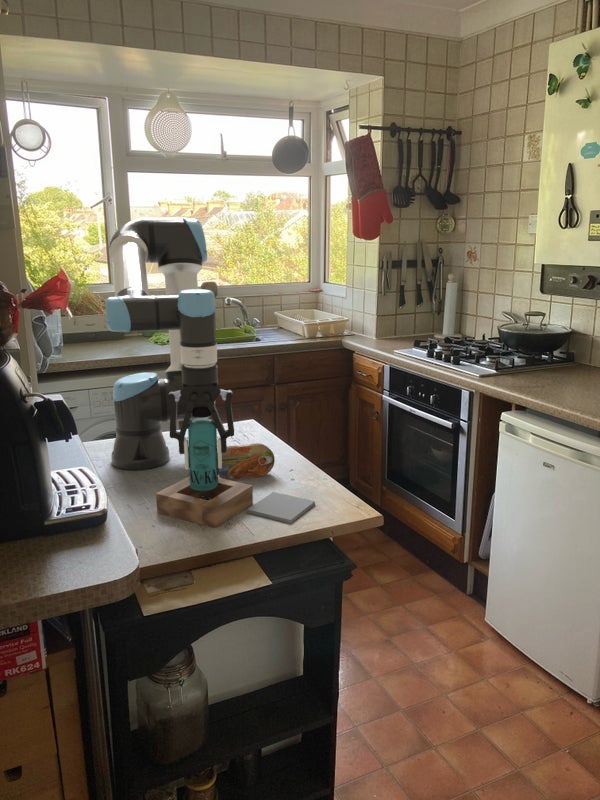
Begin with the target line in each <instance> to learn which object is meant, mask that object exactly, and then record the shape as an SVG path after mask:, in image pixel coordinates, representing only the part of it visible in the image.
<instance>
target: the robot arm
mask: <svg viewBox="0 0 600 800" xmlns="http://www.w3.org/2000/svg"><path fill="white" fill-rule="evenodd" d="M207 250H208V249H207V240H206V237H205V233H204V228H203V226H202V224H201V222H200V221H199V220H198V219H197V218H194V217H193V218H192V217H191V218H190V217H183V216H181V217H138V218H134V219H132V220H129V221H128V222H126V223H124V224H123V225H122V226H120V227H119V228H118V229H117V230H116V231H115V232H114V234H113V235H112V237H111V239H110V241H109V246H108V253H109V258H110V260H111V262H112V263H113V277H114V278H113V279H114V296H109V297H107V298H105V300H104V303H105V304H104V305H105V319H106V326H107V330H109V331H110V332H118V333H129V332H147V331H148V332H150V331H152V332H153V331H168V340H169V342H168V343H169V353H170V354H169V356H170V365H169V367H167V369H166V370H165V377H162V378H160V377H159V375H158V374H157V373H156V372H148V371H147V372H139V373H134V374H130V375H127V376H123V377H120V378H119V379H117V380H116V381H115V382H114V383H113V387H112V388H113V390H112V391H113V393H112V394H113V397H112V401H113V404H114V405H113V407H114V417H115V431H116V432H115V433H116V434H115V435H116V436H115V439H114V442H113V443H114V444H113V449H112V452H111V465H113V466H114V467H115V468H118V469H122V470H126V471H127V470H128V471H131V470H132V471H136V470H137V471H138V470H139V471H140V470H148V469H152V468H153V469H154V468H157V467H161V466H163V465H164V464H166V463H168V461H170V450H169V448H168V446H167V445H166V444H167V443H166V440H165V436H164V434H163V433H162V422H163V423H165V422H169V438H170V439H174V440H177V441H178V453H179V454H180V455H184V456H183V457H184V469H185V470H186V471H187V470H188V471H189V458H188V457H189V449H188V447H189V439H188V437H187V436H186V433H187V431H188V425H189V424H190V422H191V421H193V420H195V419H199V418H197V417H193V416H192V412H193V408H197V407H208V409H209V411H210V413H211V416H209V417H204V418H208V419H210V418H211V417H212V421H214V423H215V425H216V428H217V434H218V435H217V453H218V468H222V453H226V450H227V446H228V445H227V439H228V438H229V437H234V436H235V425H234V418H233V410H232V399H233V390H232V389H227V390H225V389H222V388H221V387H220V385H219V377H218V375H219V374H218V371H219V370H218V365H217V364H216V363H217V362H218V343H217V325H216V323H217V320H216V317H217V316H216V310H217V305H216V299H215V293H214V292H213V291H212V290H210V289H203V288H199V284H198V274H199V273H200V272H201V270H202V269H203V264H204V263H205V262H207V260H208V251H207ZM146 263H150V264H152V263H154V264H155V263H156V264H157V266H158V271H159V272H160V273H162V274H163V276H164V284H165V295H150V293H149V283H148V274H147V268H146V266H147V265H146ZM219 395H220V396H221V399H222V401H224V407H225V415H226V416H225V417H226V424H227V429H225V426H224V425H223V421H222V419H221V416H220V414H219V412H218V409H217V406H216V400H217V399H218V398H219ZM177 421H179V422H180V421H182V423H181V427H180V431H178V430H177V425H178V424H177Z"/></svg>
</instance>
